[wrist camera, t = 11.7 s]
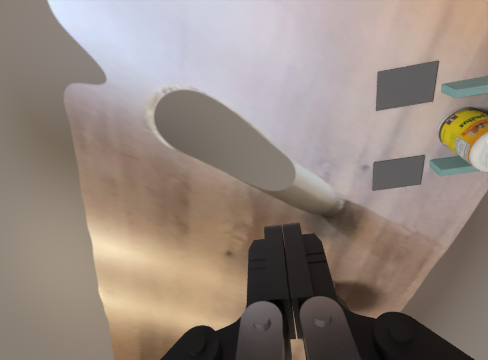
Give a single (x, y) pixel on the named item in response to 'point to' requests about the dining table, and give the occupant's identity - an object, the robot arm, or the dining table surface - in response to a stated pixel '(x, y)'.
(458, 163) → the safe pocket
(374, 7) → the dining table surface
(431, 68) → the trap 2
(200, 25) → the dining table surface
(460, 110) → the supplement bottle
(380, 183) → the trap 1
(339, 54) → the dining table surface
